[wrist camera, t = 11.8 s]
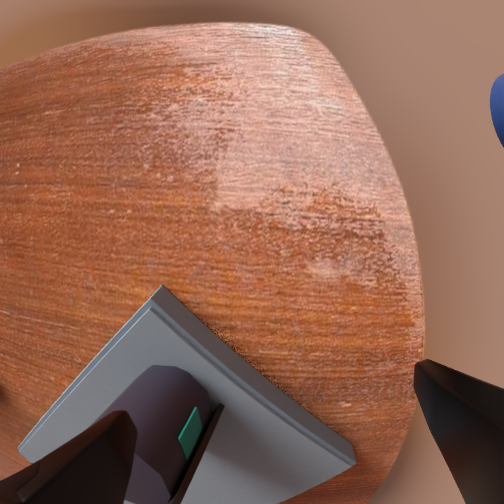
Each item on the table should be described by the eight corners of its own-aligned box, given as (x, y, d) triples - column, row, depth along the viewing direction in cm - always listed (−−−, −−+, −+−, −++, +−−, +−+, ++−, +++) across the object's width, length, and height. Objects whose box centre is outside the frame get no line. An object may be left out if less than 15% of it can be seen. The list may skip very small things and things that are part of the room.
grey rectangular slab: (162, 284, 22) (148, 300, 19) (351, 443, 25) (358, 466, 22) (25, 437, 28) (15, 450, 25) (156, 527, 31) (151, 542, 28)
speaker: (249, 418, 20) (216, 541, 10) (193, 444, 21) (147, 546, 11) (173, 340, 20) (87, 445, 10) (124, 377, 21) (44, 466, 11)
